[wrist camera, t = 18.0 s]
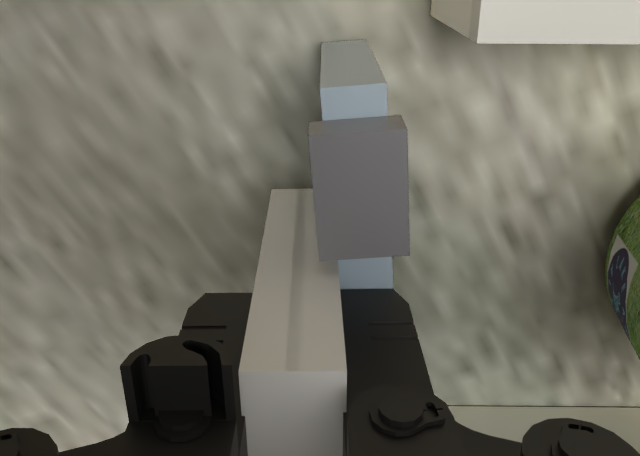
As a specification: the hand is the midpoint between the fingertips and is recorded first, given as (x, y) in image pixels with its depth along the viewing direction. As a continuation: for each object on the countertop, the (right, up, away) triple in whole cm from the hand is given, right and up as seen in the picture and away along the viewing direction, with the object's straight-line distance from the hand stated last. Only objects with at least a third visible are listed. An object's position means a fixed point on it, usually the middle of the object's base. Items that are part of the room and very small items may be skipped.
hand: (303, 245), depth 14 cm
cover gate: (+1, -1, +2) cm, 3 cm away
